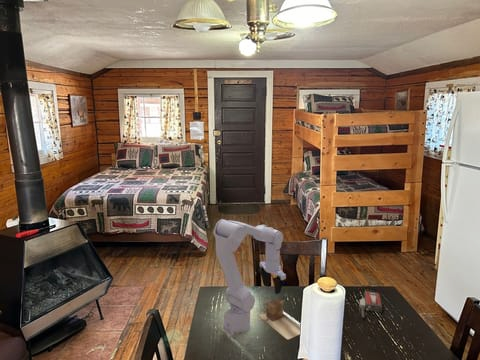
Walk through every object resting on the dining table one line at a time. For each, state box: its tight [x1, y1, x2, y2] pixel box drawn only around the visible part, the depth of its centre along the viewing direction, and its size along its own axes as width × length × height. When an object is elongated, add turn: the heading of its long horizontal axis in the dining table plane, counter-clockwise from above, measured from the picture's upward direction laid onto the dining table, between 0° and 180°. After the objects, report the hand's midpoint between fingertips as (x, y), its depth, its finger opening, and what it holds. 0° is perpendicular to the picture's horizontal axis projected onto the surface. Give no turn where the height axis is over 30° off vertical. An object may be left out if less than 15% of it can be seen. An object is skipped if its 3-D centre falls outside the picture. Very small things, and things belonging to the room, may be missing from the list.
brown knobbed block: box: [265, 298, 285, 321], centre depth 139 cm, size 8×4×6 cm, turn 123°
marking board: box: [257, 310, 302, 341], centre depth 136 cm, size 9×18×3 cm, turn 33°
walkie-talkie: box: [359, 290, 383, 319], centre depth 149 cm, size 9×4×20 cm
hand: (271, 289), depth 145 cm, fingers open, 7 cm apart
